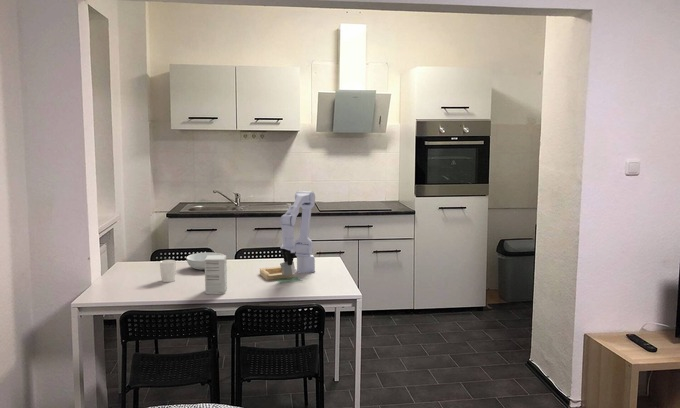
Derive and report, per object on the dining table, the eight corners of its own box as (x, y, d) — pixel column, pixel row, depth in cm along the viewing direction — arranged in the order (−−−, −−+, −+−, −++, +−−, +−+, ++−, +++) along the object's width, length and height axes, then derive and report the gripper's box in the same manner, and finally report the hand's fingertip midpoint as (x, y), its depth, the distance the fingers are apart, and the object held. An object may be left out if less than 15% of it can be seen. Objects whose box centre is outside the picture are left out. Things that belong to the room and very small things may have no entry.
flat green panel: (296, 277, 295) (296, 276, 295) (302, 281, 287) (302, 280, 287) (274, 279, 290) (274, 279, 290) (280, 284, 282) (280, 283, 282)
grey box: (292, 271, 291) (290, 260, 290) (295, 273, 287) (293, 261, 286) (282, 274, 289) (280, 263, 287) (284, 276, 285) (282, 264, 284)
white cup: (179, 279, 291) (178, 260, 290) (170, 283, 283) (169, 263, 282) (166, 278, 293) (165, 259, 292) (157, 281, 286) (156, 262, 285)
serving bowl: (178, 270, 309) (178, 258, 309) (201, 262, 329) (201, 251, 328) (210, 274, 302) (210, 261, 301) (232, 265, 321) (231, 254, 320)
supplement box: (208, 289, 273) (207, 255, 271) (227, 288, 274) (226, 254, 272) (205, 294, 263) (204, 259, 261) (225, 294, 264) (224, 259, 262)
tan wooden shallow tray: (283, 271, 308) (283, 265, 307) (294, 278, 292) (294, 272, 292) (258, 274, 302) (258, 268, 301) (268, 281, 286) (268, 275, 286)
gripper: (276, 236, 290) (276, 261, 292) (285, 241, 277) (285, 267, 279) (288, 235, 293) (289, 260, 295) (298, 239, 280) (298, 266, 282)
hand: (288, 264), depth 287 cm, fingers closed on grey box, 4 cm apart
